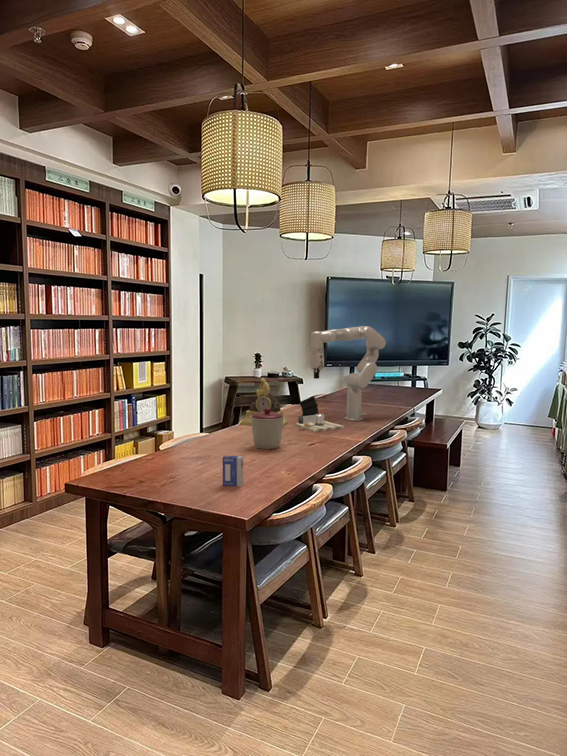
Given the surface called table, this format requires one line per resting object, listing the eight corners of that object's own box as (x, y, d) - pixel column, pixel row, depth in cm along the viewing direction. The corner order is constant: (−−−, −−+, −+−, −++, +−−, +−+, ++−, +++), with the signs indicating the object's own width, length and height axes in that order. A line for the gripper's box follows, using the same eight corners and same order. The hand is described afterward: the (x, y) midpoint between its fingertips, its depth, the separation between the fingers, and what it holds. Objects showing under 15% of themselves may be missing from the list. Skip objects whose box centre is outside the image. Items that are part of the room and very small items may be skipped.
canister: (262, 441, 286) (262, 403, 284) (290, 446, 277) (291, 406, 275) (243, 448, 270) (243, 408, 268) (272, 453, 261) (272, 411, 259)
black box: (322, 416, 357) (313, 396, 358) (305, 423, 361) (296, 403, 362) (323, 415, 361) (314, 395, 361) (306, 422, 365) (297, 402, 365)
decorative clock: (240, 425, 333) (239, 378, 330) (246, 421, 345) (246, 376, 342) (282, 428, 325) (282, 380, 322) (287, 424, 338) (288, 378, 334)
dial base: (323, 422, 343) (323, 417, 342) (344, 428, 324) (344, 423, 324) (295, 425, 331) (295, 420, 331) (315, 432, 313) (315, 426, 312)
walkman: (222, 485, 208) (222, 456, 207) (224, 483, 211) (224, 454, 210) (241, 486, 207) (241, 457, 206) (243, 484, 210) (243, 455, 209)
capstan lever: (319, 422, 332) (319, 413, 331) (326, 424, 327) (326, 414, 326) (296, 426, 320) (296, 416, 319) (302, 427, 315) (302, 418, 315)
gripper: (328, 350, 335) (327, 379, 337) (314, 349, 348) (314, 377, 350) (318, 351, 331) (318, 379, 333) (305, 350, 344) (305, 377, 346)
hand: (316, 378), depth 342 cm, fingers closed
